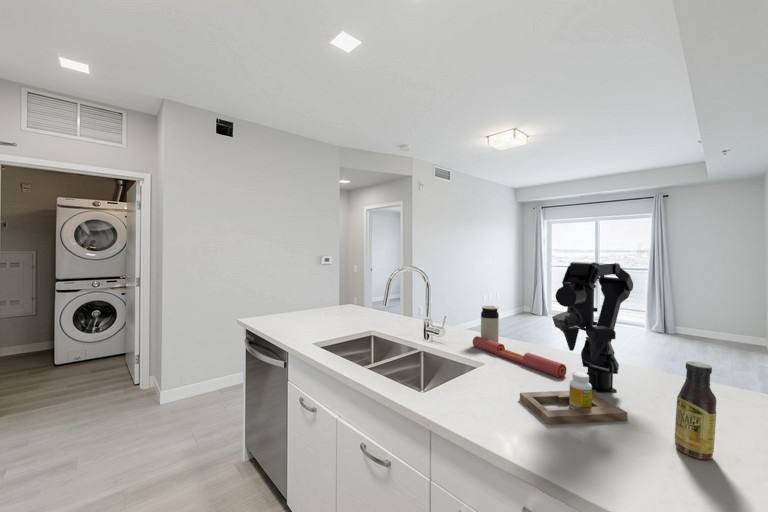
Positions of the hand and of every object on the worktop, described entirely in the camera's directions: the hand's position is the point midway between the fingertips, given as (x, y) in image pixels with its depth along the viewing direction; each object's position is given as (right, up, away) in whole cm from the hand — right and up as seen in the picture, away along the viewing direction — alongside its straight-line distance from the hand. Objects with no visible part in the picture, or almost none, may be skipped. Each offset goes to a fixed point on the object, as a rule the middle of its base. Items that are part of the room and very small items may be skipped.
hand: (581, 355), depth 97 cm
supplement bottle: (-4, -13, -6) cm, 15 cm away
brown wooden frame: (-7, -13, -7) cm, 16 cm away
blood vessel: (-7, -13, +35) cm, 38 cm away
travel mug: (-9, -12, +56) cm, 58 cm away
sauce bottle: (+9, -14, -26) cm, 31 cm away
